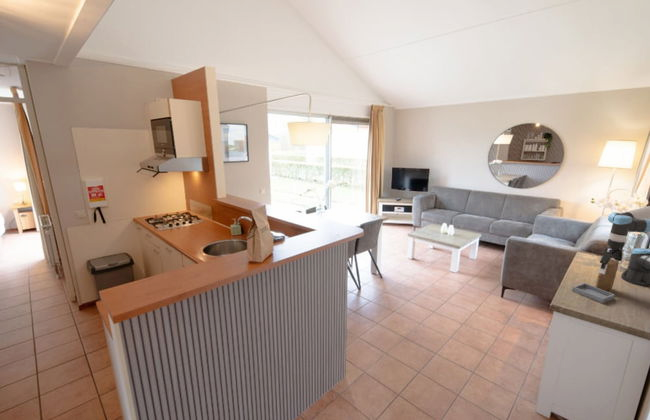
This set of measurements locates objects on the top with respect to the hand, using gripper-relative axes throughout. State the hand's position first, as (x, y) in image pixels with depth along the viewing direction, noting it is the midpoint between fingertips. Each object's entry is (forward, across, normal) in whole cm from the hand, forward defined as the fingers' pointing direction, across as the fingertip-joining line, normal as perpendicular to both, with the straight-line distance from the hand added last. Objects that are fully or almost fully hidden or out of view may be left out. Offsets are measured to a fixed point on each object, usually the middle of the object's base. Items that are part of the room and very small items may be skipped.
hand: (607, 271), depth 187 cm
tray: (+13, +14, +1) cm, 19 cm away
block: (+13, 0, 0) cm, 13 cm away
